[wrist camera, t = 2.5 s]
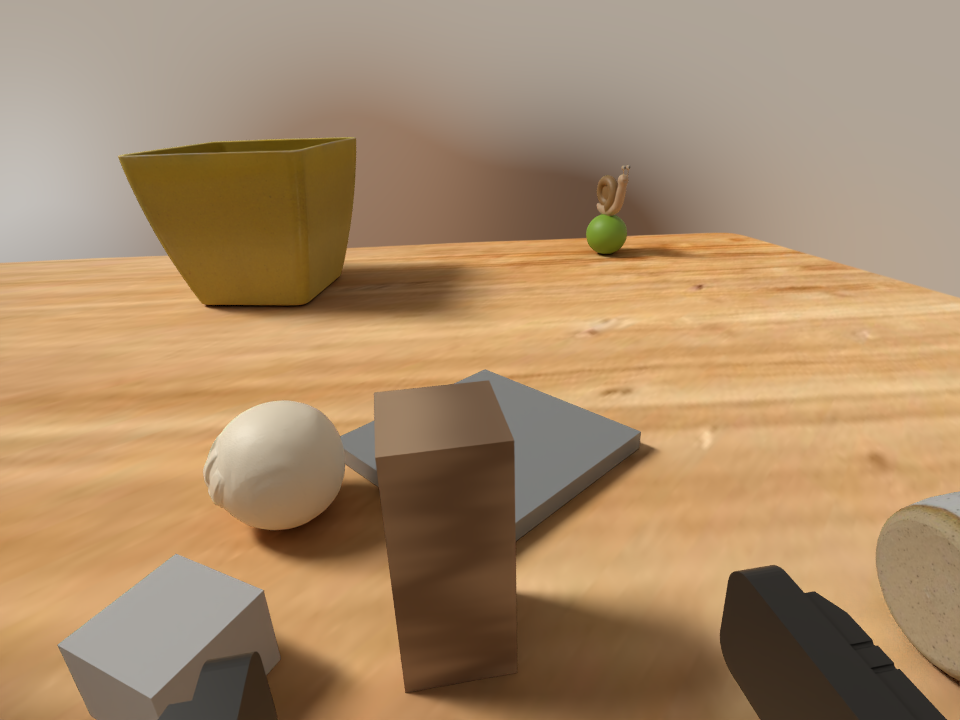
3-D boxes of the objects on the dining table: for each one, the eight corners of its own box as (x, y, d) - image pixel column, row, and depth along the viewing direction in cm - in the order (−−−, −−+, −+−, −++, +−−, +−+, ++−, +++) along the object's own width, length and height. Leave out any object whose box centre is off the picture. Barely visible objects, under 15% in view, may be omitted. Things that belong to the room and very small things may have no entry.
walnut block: (405, 692, 23) (374, 457, 19) (399, 603, 27) (373, 392, 23) (517, 672, 24) (514, 440, 19) (495, 588, 28) (489, 380, 23)
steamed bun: (227, 488, 36) (202, 391, 33) (350, 469, 37) (335, 374, 34) (206, 568, 30) (173, 457, 27) (353, 542, 31) (336, 433, 28)
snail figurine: (604, 262, 78) (609, 167, 73) (578, 251, 84) (581, 162, 79) (638, 256, 80) (645, 163, 75) (610, 246, 85) (615, 159, 80)
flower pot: (239, 268, 82) (212, 139, 75) (373, 268, 80) (358, 135, 73) (156, 316, 65) (111, 155, 58) (323, 317, 63) (297, 150, 56)
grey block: (91, 717, 23) (57, 644, 21) (198, 621, 27) (175, 553, 25) (181, 774, 21) (151, 698, 19) (281, 661, 25) (263, 590, 23)
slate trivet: (334, 456, 39) (331, 440, 38) (485, 382, 47) (484, 369, 47) (486, 563, 29) (485, 544, 29) (639, 447, 38) (640, 431, 38)
